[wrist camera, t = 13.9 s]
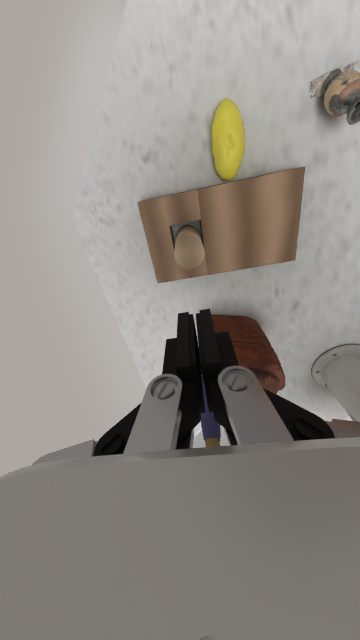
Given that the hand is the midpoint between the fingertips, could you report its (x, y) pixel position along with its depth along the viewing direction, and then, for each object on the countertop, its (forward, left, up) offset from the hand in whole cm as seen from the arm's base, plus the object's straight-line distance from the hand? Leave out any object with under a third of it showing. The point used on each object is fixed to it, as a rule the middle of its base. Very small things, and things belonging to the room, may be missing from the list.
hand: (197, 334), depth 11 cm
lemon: (-7, -10, -27) cm, 30 cm away
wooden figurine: (-6, +19, -27) cm, 33 cm away
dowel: (0, 0, -27) cm, 27 cm away
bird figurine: (-19, -12, -27) cm, 35 cm away
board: (-5, 0, -27) cm, 27 cm away
